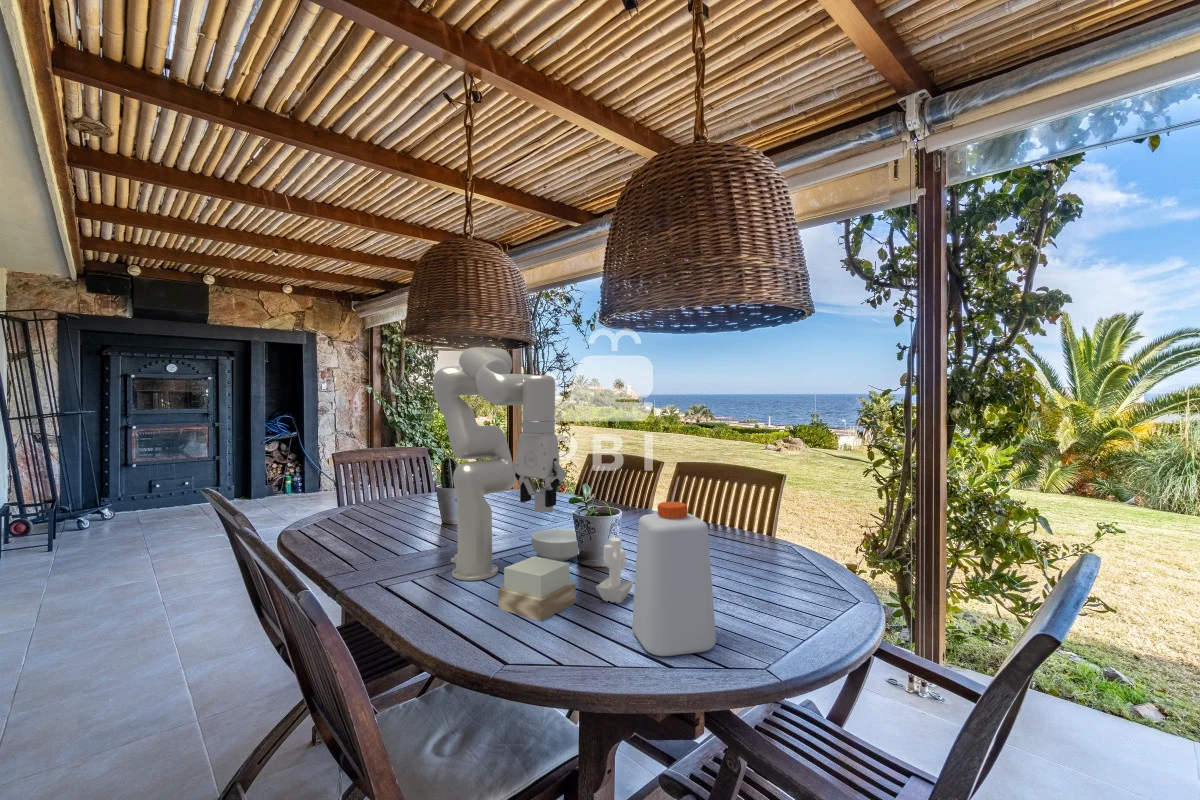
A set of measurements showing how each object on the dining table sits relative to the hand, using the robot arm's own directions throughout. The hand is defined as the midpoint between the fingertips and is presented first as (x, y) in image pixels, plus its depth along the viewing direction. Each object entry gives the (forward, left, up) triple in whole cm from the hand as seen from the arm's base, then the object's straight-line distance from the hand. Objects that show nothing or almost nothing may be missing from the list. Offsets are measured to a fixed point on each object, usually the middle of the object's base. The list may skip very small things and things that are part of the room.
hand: (537, 503), depth 130 cm
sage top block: (-2, +1, -20) cm, 21 cm away
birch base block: (-2, +1, -25) cm, 26 cm away
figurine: (+11, +15, -25) cm, 32 cm away
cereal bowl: (-22, +34, -25) cm, 48 cm away
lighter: (0, 0, -2) cm, 2 cm away
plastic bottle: (+33, +3, -25) cm, 42 cm away
